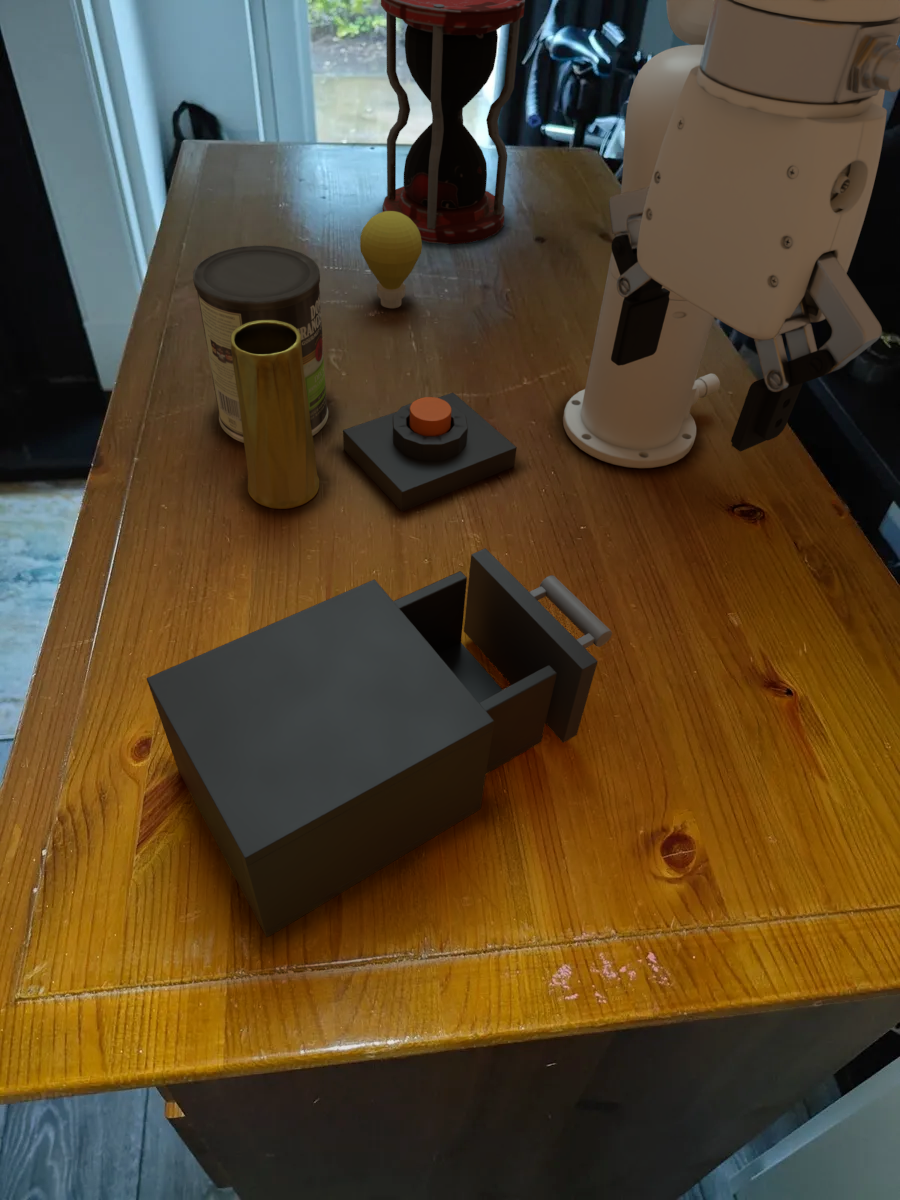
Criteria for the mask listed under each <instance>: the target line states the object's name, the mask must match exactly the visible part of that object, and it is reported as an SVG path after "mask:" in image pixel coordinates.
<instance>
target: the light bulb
mask: <svg viewBox="0 0 900 1200" xmlns="http://www.w3.org/2000/svg"><path fill="white" fill-rule="evenodd" d="M359 238H360V239H359V248H360V253H361V255H362V257H363V259H364V260H365V263H366V265H367V267H368V268H369V270H370V271H371V273H372V275H373V276H374V277H375V278H376V280H377V284H376V295H377V297H378V298H379V299H380V305H381V306H382V307H383V308H387V309H396V308H399V307H401V306H402V301H403V300H402V299H403V298H404V297H405V296H406V284H405V283H404V282H405V281H406V279H407V278H408V277H409V275H410V274H411V273H412V271H413V270H414V268H415V266H416V265H417V263H418V260H419V258H420V256H421V254H422V253H423V252H422V251H423V241H421V235H420V232H419V230H418V228H417V226H416V225H415V224H414V222H413V221H412V220H411V219H410V218H409V217H407V216H406V215H404V214H402V213H399V212H395V211H385V212H383V211H381V212H378V213H377V214H375V215H373V216H372V217H370V219H368V221H367V222H366V224H365V225H364V226H363V228H362V231H361V233H360V237H359Z"/></svg>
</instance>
